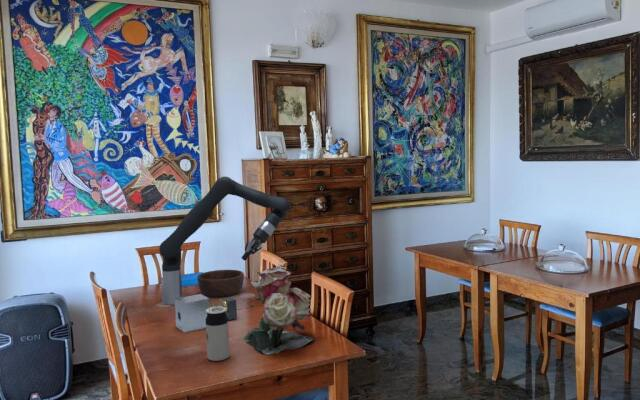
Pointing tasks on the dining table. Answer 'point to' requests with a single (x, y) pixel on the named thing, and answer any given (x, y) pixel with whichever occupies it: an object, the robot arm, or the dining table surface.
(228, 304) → the dark boxy piece
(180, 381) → the dining table surface
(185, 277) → the book
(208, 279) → the wooden bowl
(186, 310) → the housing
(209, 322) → the travel mug
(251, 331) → the rose bouquet
